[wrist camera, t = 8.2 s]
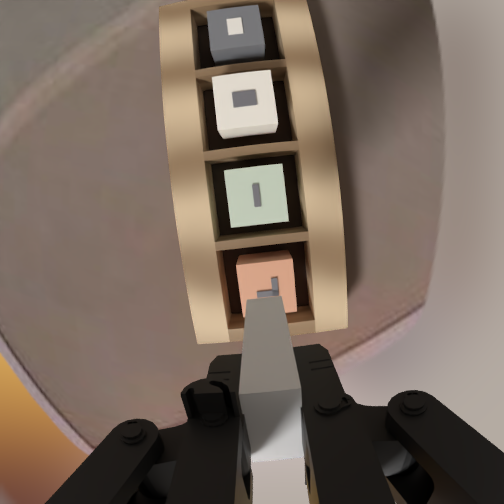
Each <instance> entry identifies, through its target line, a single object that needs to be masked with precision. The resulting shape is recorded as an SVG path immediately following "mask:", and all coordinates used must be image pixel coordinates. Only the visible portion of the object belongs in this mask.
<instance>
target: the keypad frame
mask: <svg viewBox="0 0 504 504" xmlns="http://www.w3.org/2000/svg"><path fill="white" fill-rule="evenodd" d="M251 5H258V7H259V12H260V18H265V17H272V18H273V23H274V29H275V34H276V39H277V45H278V51H279V56H280V59H279V60H267V61H256V62H247V63H239V64H231V65H224V66H217V67H211V68H205V69H201V65H200V54H199V43H198V31H197V26H202V25H208V20H207V11H212V10H218V9H225V8H233V7H241V6H251ZM159 34H160V60H161V79H162V94H163V108H164V120H165V131H166V142H167V152H168V161H169V170H170V179H171V187H172V195H173V203H174V210H175V217H176V224H177V231H178V238H179V244H180V251H181V257H182V263H183V269H184V275H185V281H186V287H187V292H188V298H189V303H190V308H191V314H192V319H193V324H194V329H195V334H196V339H197V343H198V344H207V343H221V342H234V341H243V337H244V325H245V317H243V313H235V314H231V309H230V302H229V295H228V288H227V282H226V275H225V268H224V261H223V253H222V250H229V249H238V248H246V247H255V246H264V245H273V244H281V243H290V242H299V241H304V250H305V262H306V274H307V287H308V301H309V305H307V306H299V307H297V312H289V313H285V314H286V318H287V323H288V328H289V332H290V336H293V335H301V334H308V333H316V332H323V331H330V330H336V329H343V328H348V317H347V281H346V260H345V243H344V229H343V217H342V205H341V195H340V185H339V176H338V168H337V159H336V152H335V144H334V137H333V130H332V123H331V117H330V111H329V104H328V99H327V93H326V87H325V82H324V76H323V71H322V66H321V61H320V56H319V52H318V47H317V42H316V38H315V33H314V29H313V25H312V21H311V17H310V13H309V9H308V5H307V1H306V0H186V1H182V2H177V3H173V4H168V5H164V6H160V7H159ZM263 70H270V71H271V77H272V82H274V81H284V87H285V93H286V99H287V106H288V113H289V120H290V127H291V134H292V141H287V142H277V143H267V144H258V145H249V146H241V147H233V148H226V149H219V150H212V151H209V143H208V134H207V125H206V115H205V106H204V96H203V91H204V90H210V89H213V83H212V77H215V76H222V75H229V74H236V73H244V72H253V71H263ZM286 155H294V157H295V165H296V173H297V182H298V191H299V200H300V209H301V219H302V226H301V227H292V228H283V229H274V230H265V231H256V232H248V233H239V234H231V235H222V236H220V231H219V224H218V216H217V209H216V201H215V193H214V185H213V177H212V168H211V165H212V164H218V163H226V162H233V161H241V160H249V159H257V158H266V157H276V156H286Z"/></svg>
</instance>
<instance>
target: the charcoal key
mask: <svg viewBox="0 0 504 504" xmlns="http://www.w3.org/2000/svg"><path fill="white" fill-rule="evenodd" d="M207 20H208V30H209V40H210V50H211V54H212V56H213V59H214V62H215V65H216V67H217V66H224V65H231V64H239V63H247V62H256V61H264V57H265V41H264V35H263V30H262V24H261V18H260V12H259V7H258V5H251V6H241V7H233V8H225V9H218V10H212V11H207Z"/></svg>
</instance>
